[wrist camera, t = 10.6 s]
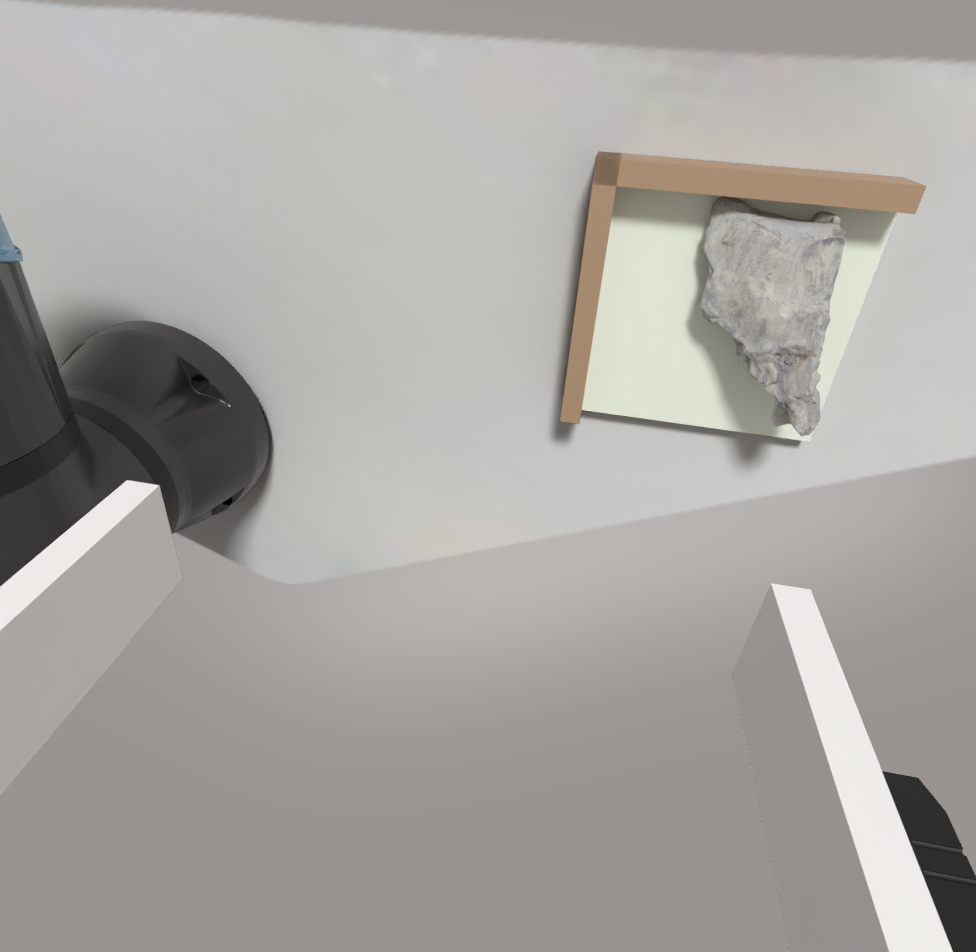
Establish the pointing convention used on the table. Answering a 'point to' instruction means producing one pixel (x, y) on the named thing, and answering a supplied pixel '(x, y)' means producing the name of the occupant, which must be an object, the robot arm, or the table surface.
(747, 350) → the stone
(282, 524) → the table surface
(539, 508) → the table surface
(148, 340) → the robot arm
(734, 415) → the corner
